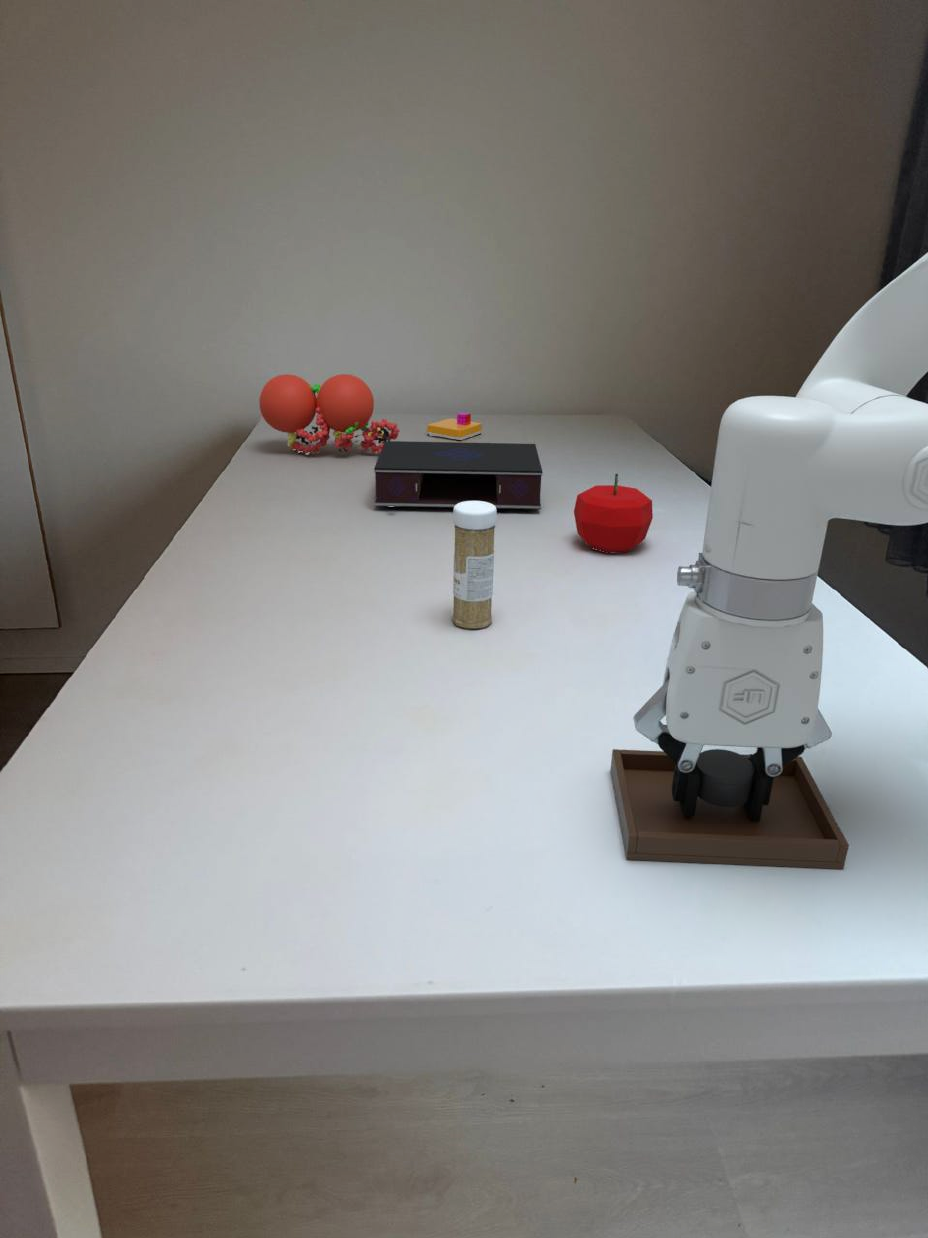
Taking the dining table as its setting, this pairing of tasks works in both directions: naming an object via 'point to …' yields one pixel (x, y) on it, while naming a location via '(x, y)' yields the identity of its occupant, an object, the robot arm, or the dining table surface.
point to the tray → (723, 819)
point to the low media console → (458, 474)
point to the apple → (613, 517)
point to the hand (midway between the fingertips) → (717, 806)
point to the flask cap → (724, 778)
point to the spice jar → (473, 563)
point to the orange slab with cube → (455, 426)
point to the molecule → (323, 412)
